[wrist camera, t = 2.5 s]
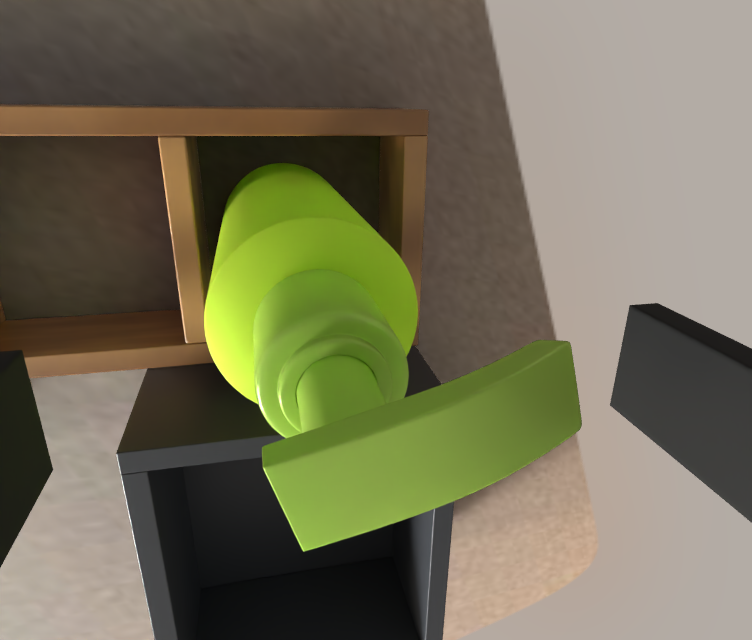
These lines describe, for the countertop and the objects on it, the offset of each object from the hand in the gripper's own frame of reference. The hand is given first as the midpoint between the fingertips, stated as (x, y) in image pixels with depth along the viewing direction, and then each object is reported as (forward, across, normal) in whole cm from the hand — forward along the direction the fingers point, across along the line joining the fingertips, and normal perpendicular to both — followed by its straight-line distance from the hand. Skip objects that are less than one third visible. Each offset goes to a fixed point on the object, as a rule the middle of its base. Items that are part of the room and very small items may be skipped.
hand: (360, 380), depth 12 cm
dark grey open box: (+17, -1, -15) cm, 22 cm away
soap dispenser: (+17, 0, 0) cm, 17 cm away
